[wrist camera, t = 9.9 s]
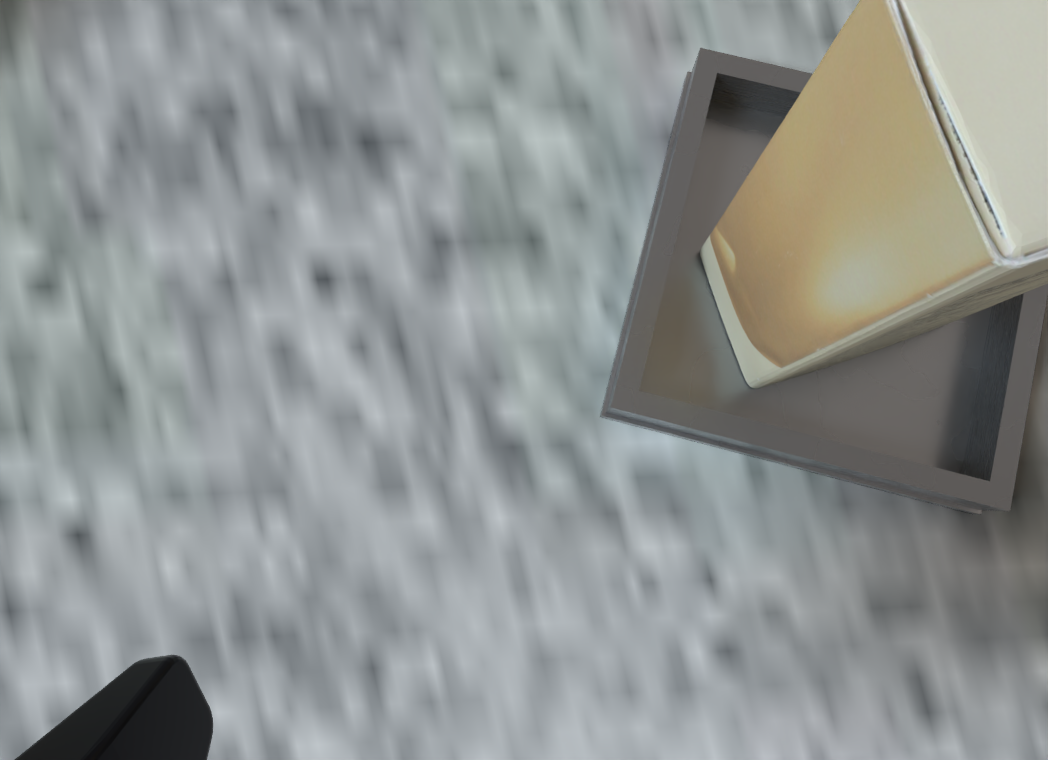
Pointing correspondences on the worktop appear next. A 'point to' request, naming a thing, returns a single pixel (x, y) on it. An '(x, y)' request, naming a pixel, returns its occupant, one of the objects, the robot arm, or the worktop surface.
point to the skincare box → (892, 188)
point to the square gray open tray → (827, 394)
